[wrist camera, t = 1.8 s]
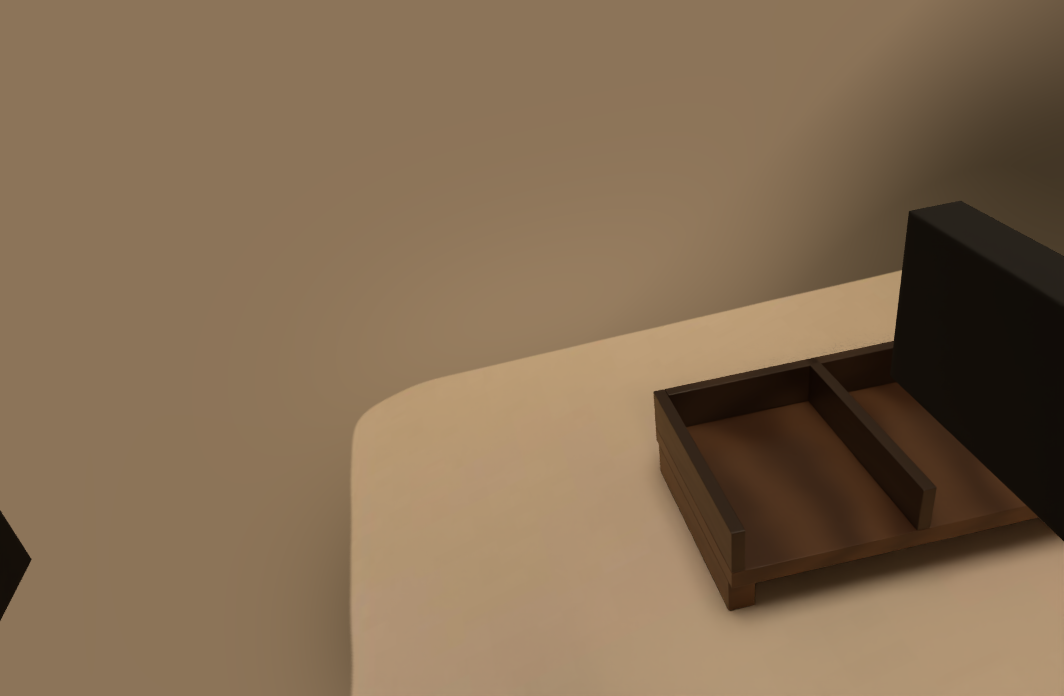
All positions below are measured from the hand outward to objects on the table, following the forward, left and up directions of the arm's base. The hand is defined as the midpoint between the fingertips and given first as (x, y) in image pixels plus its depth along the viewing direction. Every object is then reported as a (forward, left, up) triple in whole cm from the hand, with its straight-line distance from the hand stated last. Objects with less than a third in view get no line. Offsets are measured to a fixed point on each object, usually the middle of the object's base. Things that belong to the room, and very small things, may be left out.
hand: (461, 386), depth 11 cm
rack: (-3, +39, -32) cm, 51 cm away
